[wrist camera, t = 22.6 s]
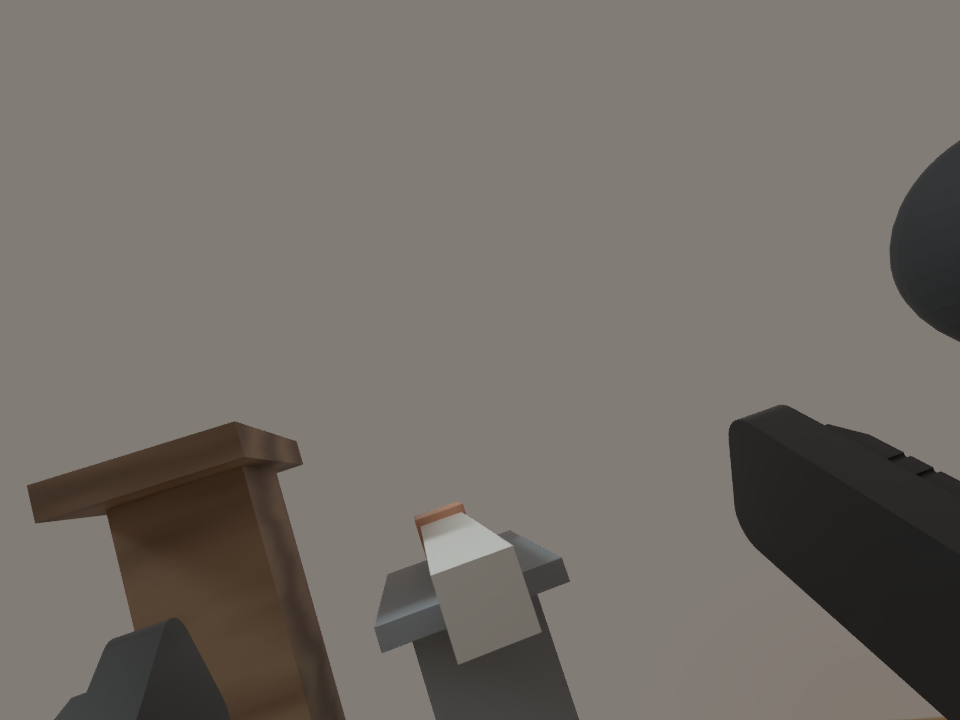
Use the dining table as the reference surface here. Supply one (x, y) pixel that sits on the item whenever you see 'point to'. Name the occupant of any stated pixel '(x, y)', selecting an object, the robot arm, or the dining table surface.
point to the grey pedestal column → (491, 677)
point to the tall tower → (213, 561)
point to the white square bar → (475, 583)
